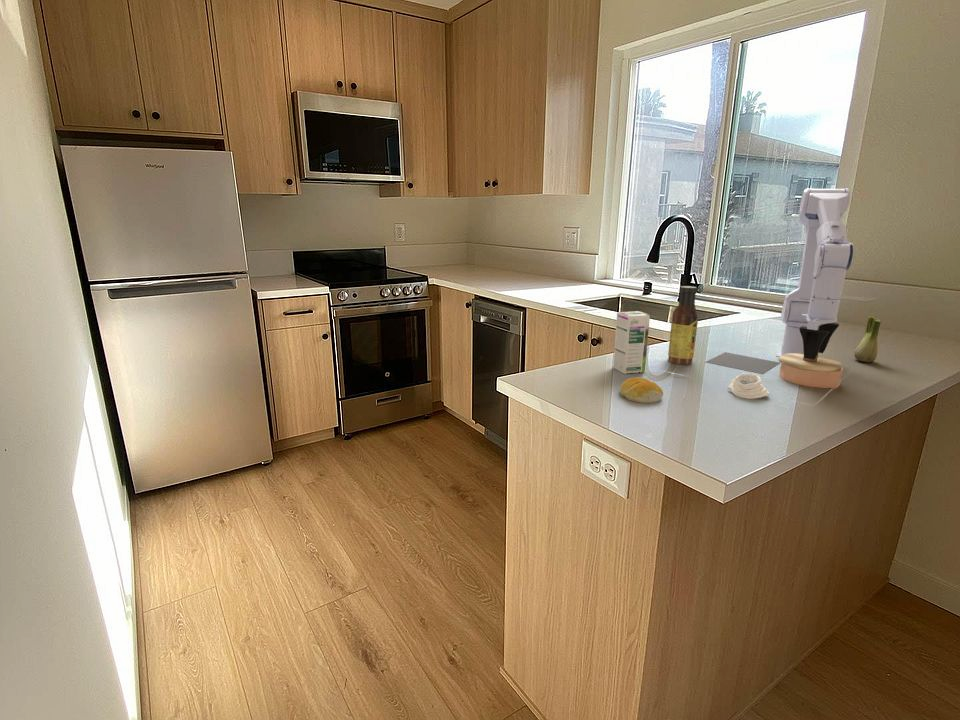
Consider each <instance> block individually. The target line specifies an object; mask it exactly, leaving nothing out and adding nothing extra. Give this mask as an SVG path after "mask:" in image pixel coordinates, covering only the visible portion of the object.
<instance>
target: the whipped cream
mask: <svg viewBox="0 0 960 720" xmlns="http://www.w3.org/2000/svg"><path fill="white" fill-rule="evenodd" d="M727 389H729V390H730V391H731V392H732V394H733V395H735V396H737V397H739V398H743V399H747V400H748V399H750V400H753V399H760V398H764V397H767V396H769V395H770V392H769V391H768V389H767V388H766V387H765V386H764V385H763V383H762V378H761V377H760V376H759V375H757V374H755V373H753V372H751V373H750V372H744V373H741V374H739V375H737V376H735V378H734V379H732V380H731V381H730V384H729V385H728V386H727Z"/></svg>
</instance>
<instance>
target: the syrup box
mask: <svg viewBox="0 0 960 720" xmlns="http://www.w3.org/2000/svg"><path fill="white" fill-rule="evenodd" d="M650 319H651V316H650V314H649V313H646V312H643V311H638V310H635V311H618V312H616V321H615V323H616V324H615V325H616V326H615V335H614V336H615V340H614V350H613V351H614V352H613V363H612V367H613V369H614V370H616V369H617V371H618V370H619V371H618V372H620V373H622V374H624V375H627V374H637V373H639V372H640V373H645V371H646V361H647V351H648V341H649V330H650Z"/></svg>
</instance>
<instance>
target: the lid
mask: <svg viewBox="0 0 960 720" xmlns="http://www.w3.org/2000/svg"><path fill="white" fill-rule="evenodd" d="M819 354H820V353H819V352H818V354H817V356H816V358H815V359H808V358H804V354H799V353H788V354H782V355H780V356H779V357H778V362H780V364H781V363H783V364H785V365H787V366H790V367H794V368H798V369H803V370H809V371H818V372H835V371H839V370H841V367H842V368H843V365H842V363H841V362H840V361H838V360H835V359H832V358H831V357H829V358H828V357H826V356H825V357H824V356H822V355H819Z"/></svg>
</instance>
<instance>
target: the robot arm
mask: <svg viewBox="0 0 960 720" xmlns="http://www.w3.org/2000/svg"><path fill="white" fill-rule="evenodd" d="M850 201H851V190H850V189H849V188H848V187H845V188H810V187H807V188H805V189H804V190H803V192H802V195H801V199H800V204H799V213H798V220H799V221H798V222H799V223H800V224H802V225H804V226H805V229H804V230H805V238H804V245H803V253H802V258H801V264H800V270H799V271H800V273H799V278H798V279H799V280H798V284H797V286H798V287H797V288H796V289H794V290H792V291H790V292H788V293H787V294H786V295H785V296H784V299H783V300H784V301H783V304H782V308H781V313H780V320H781V322H782V323H784V324H785V326H784V327H785V329H784V333H783V338H782V344H781V349H780V352H778V353H777V354H775V357H778V358H779V356H780V355H782V354H788V353H799V354H804V358H808V359H815V358H816V356H817V354H818V355H819V354H824V352H825V350H826V348H827V346H828V343H829V342H830V339H831V338H832V336H833V335H834V333H835V332H836V330H838V328H839V326H840V323H838V312H839V308H840V303H841V299H842V295H843V294H842V293H843V289H844V285H845V280H846V274H847V271H849V270H850V268H851V266H852V264H853V260H854V253H855V247H854V243H851V241H848V235H847V227H846V225H845V224H843V222H841V220H842V219H843V217H844V215H845V213H846V212H847V210H848V208H849V205H850ZM818 352H819V353H818Z"/></svg>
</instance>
